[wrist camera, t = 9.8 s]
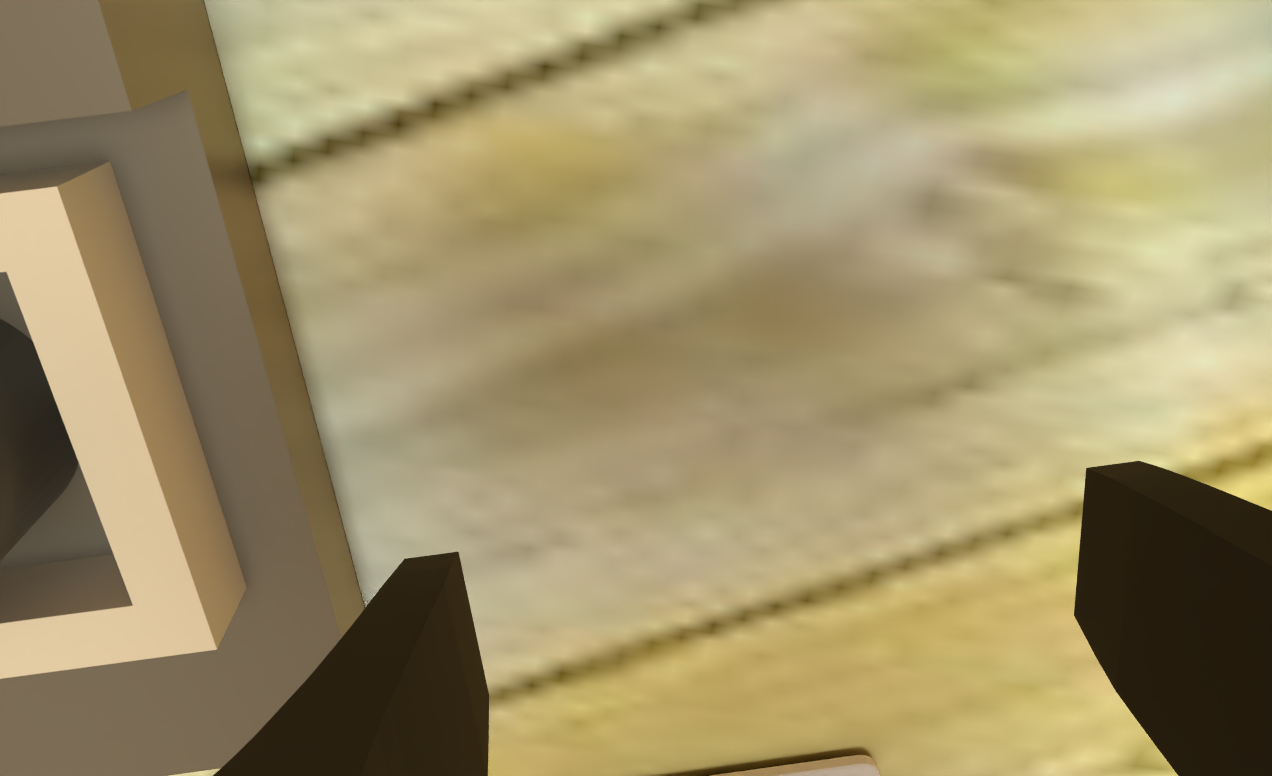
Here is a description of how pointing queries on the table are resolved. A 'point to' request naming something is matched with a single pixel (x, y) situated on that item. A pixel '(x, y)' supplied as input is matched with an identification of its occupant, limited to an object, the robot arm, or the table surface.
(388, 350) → the table surface
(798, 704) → the table surface
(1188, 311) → the table surface
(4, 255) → the base with square socket
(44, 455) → the lens
